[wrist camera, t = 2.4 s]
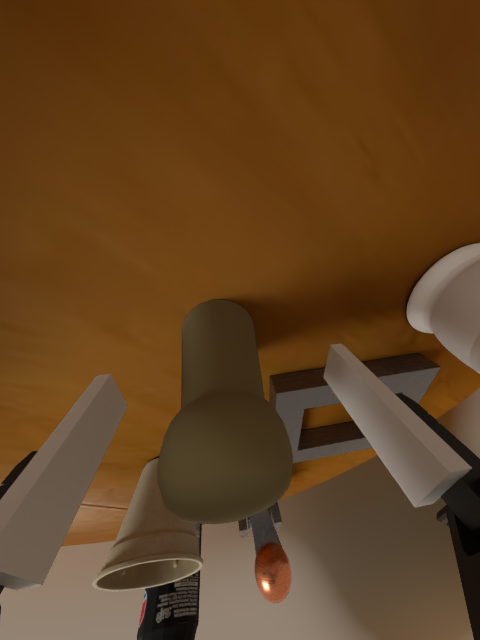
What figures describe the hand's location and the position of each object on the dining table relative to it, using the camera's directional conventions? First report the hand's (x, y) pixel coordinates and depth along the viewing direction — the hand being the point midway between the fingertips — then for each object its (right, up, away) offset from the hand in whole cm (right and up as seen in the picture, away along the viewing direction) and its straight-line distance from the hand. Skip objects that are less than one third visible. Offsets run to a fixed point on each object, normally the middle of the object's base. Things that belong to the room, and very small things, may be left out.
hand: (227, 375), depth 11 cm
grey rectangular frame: (+13, -7, +12) cm, 19 cm away
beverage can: (-9, -27, +19) cm, 34 cm away
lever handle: (+3, -19, +10) cm, 22 cm away
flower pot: (-9, -16, +13) cm, 23 cm away
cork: (-1, +2, +4) cm, 5 cm away
